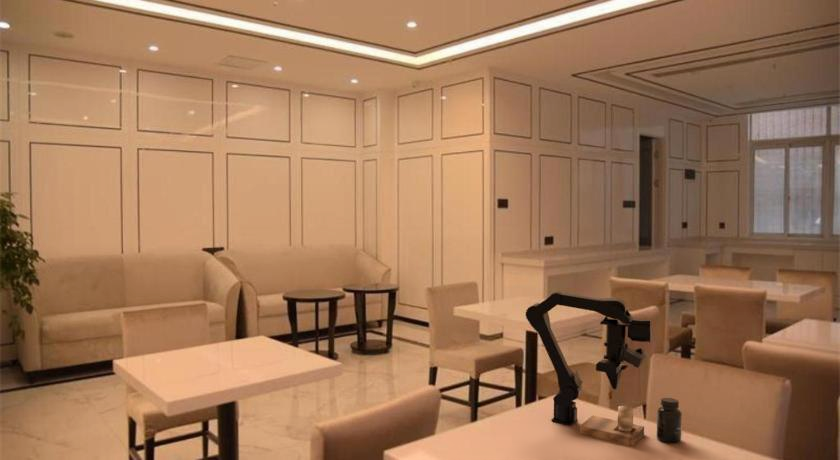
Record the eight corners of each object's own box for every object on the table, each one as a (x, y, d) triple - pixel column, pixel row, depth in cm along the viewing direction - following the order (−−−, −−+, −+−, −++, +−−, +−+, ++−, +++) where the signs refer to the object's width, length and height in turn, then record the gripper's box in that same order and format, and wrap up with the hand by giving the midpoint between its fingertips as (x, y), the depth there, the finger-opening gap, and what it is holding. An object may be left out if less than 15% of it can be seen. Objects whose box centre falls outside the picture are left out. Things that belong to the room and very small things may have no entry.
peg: (615, 438, 178) (616, 408, 178) (619, 433, 181) (620, 404, 181) (630, 441, 175) (631, 411, 175) (634, 437, 179) (635, 407, 179)
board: (579, 433, 181) (580, 425, 181) (592, 423, 190) (592, 415, 190) (633, 446, 172) (633, 437, 172) (644, 434, 181) (644, 426, 181)
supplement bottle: (683, 445, 173) (684, 404, 173) (658, 443, 175) (659, 402, 174) (678, 436, 180) (679, 397, 179) (654, 434, 181) (655, 395, 181)
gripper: (633, 348, 172) (632, 402, 173) (651, 337, 187) (649, 386, 188) (595, 343, 179) (594, 394, 179) (615, 332, 194) (614, 380, 195)
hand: (614, 388), depth 185 cm, fingers closed
